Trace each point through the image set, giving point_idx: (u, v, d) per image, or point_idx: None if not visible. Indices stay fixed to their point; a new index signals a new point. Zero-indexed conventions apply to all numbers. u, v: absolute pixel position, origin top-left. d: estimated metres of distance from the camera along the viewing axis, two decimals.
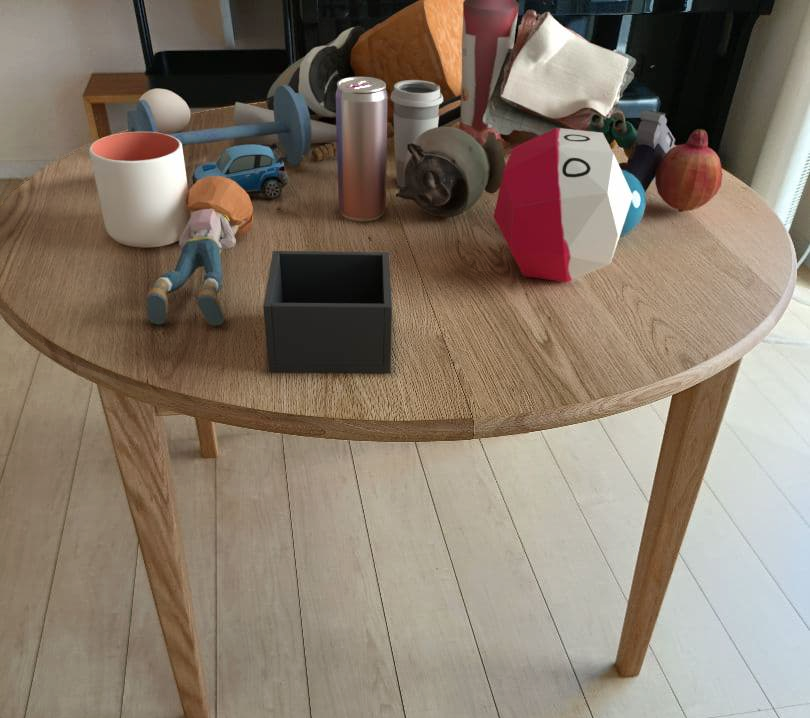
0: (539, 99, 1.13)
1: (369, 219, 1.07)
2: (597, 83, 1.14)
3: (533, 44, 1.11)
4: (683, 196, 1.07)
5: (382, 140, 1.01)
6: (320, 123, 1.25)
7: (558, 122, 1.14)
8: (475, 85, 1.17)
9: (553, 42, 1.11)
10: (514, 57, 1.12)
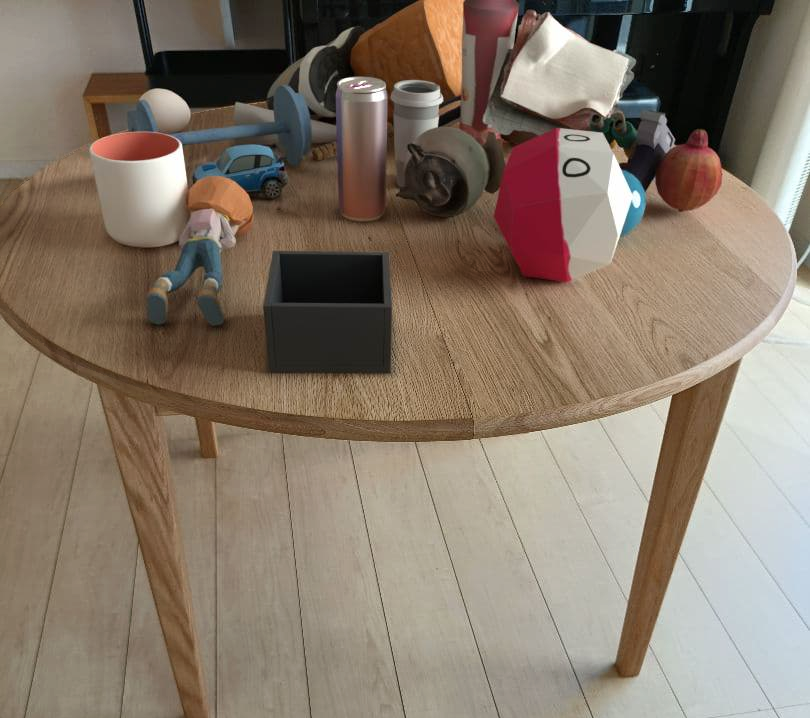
0: (539, 99, 1.13)
1: (369, 219, 1.07)
2: (597, 83, 1.14)
3: (533, 44, 1.11)
4: (683, 196, 1.07)
5: (382, 140, 1.01)
6: (320, 123, 1.25)
7: (558, 122, 1.14)
8: (475, 85, 1.17)
9: (553, 43, 1.11)
10: (514, 57, 1.12)
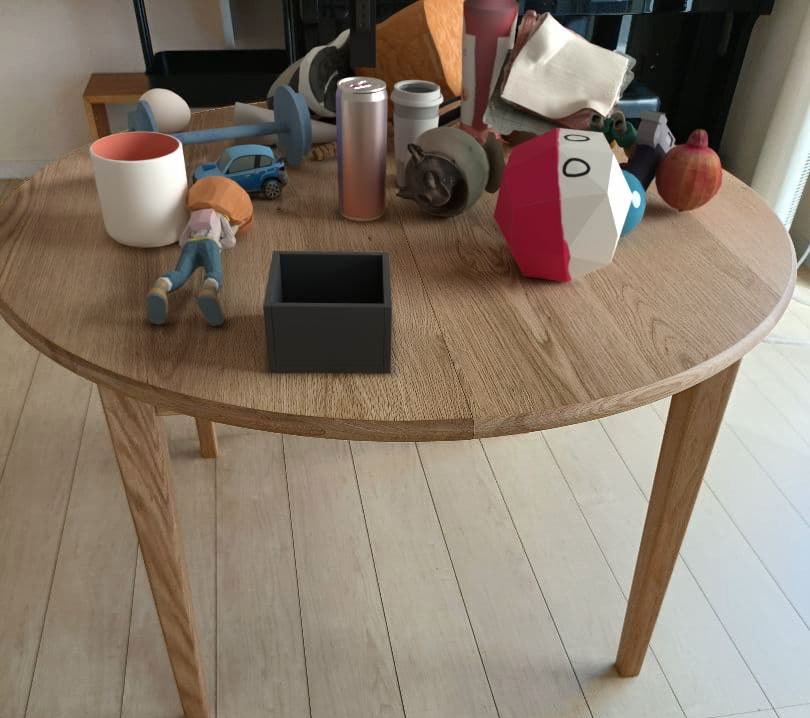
0: (539, 99, 1.13)
1: (369, 219, 1.07)
2: (596, 83, 1.14)
3: (533, 44, 1.11)
4: (683, 196, 1.07)
5: (382, 140, 1.01)
6: (320, 123, 1.25)
7: (558, 122, 1.14)
8: (475, 85, 1.17)
9: (553, 43, 1.11)
10: (514, 57, 1.12)
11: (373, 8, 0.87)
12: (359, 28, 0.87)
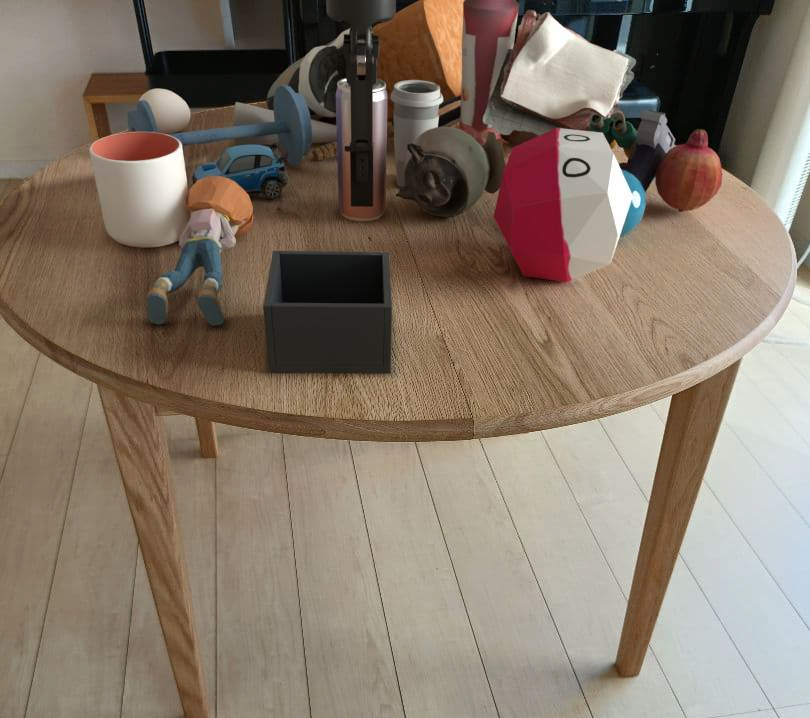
0: (539, 99, 1.13)
1: (369, 219, 1.06)
2: (596, 83, 1.14)
3: (533, 44, 1.11)
4: (683, 196, 1.07)
5: (382, 140, 1.01)
6: (320, 123, 1.25)
7: (558, 122, 1.14)
8: (475, 85, 1.17)
9: (553, 43, 1.11)
10: (514, 57, 1.12)
11: (371, 160, 1.01)
12: (358, 177, 1.01)
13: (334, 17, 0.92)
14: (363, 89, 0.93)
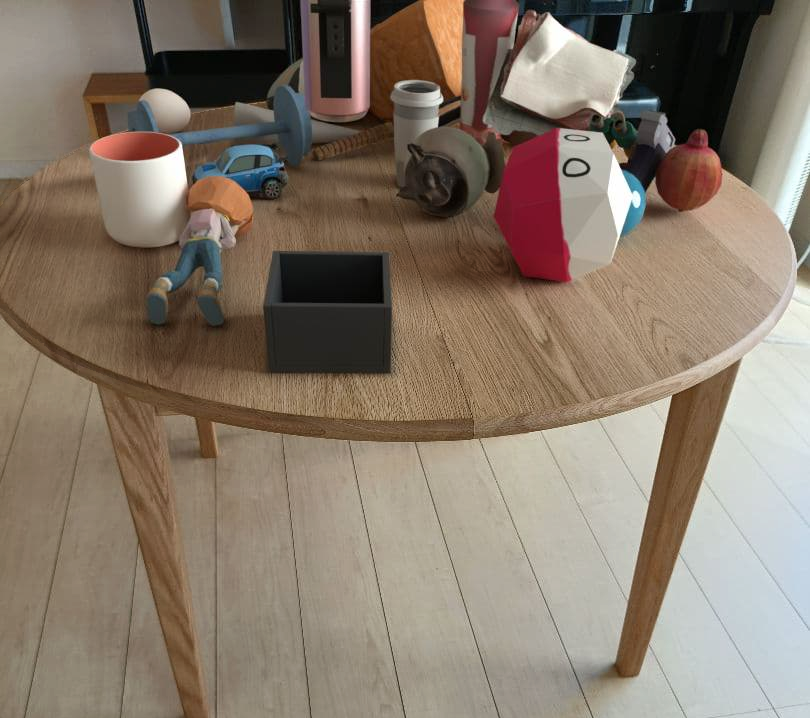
0: (539, 99, 1.13)
1: (347, 118, 0.78)
2: (596, 83, 1.14)
3: (533, 44, 1.11)
4: (683, 196, 1.07)
5: (364, 1, 0.73)
6: (320, 123, 1.25)
7: (558, 122, 1.14)
8: (475, 85, 1.17)
9: (553, 43, 1.11)
10: (514, 57, 1.12)
11: (348, 28, 0.72)
12: (331, 52, 0.72)
13: None
14: None
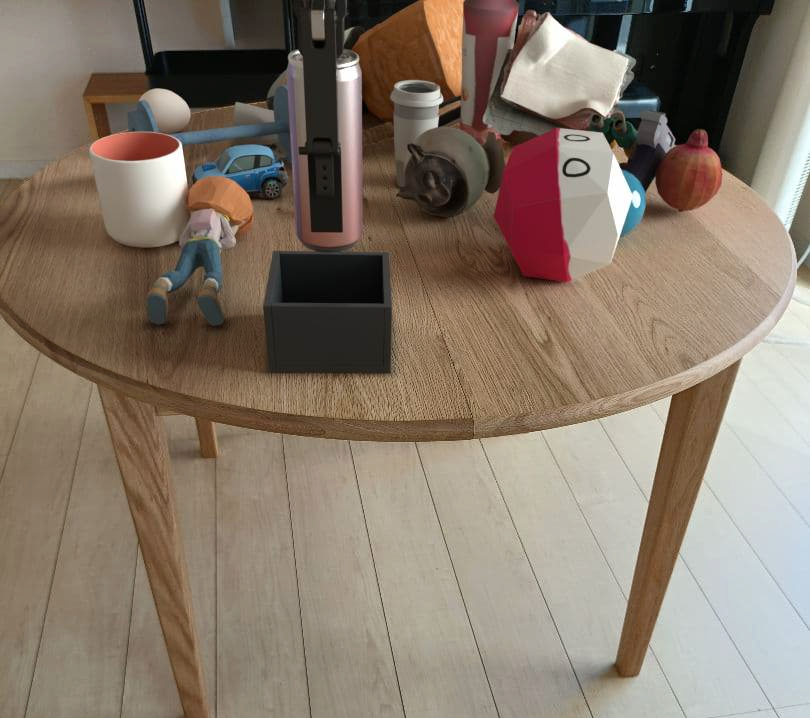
0: (539, 99, 1.13)
1: (339, 249, 0.76)
2: (596, 83, 1.14)
3: (533, 44, 1.11)
4: (683, 196, 1.07)
5: (355, 138, 0.70)
6: None
7: (558, 122, 1.14)
8: (475, 85, 1.17)
9: (553, 43, 1.11)
10: (514, 57, 1.12)
11: (338, 167, 0.70)
12: (320, 191, 0.70)
13: None
14: (322, 62, 0.62)
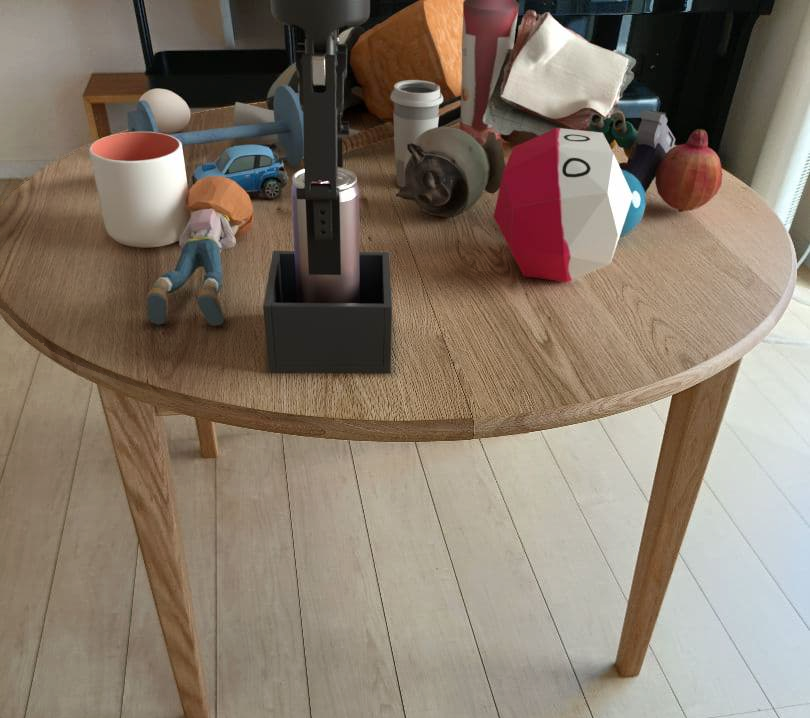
0: (539, 99, 1.13)
1: None
2: (596, 83, 1.14)
3: (533, 44, 1.11)
4: (683, 196, 1.07)
5: (352, 248, 0.77)
6: None
7: (558, 122, 1.14)
8: (475, 85, 1.17)
9: (553, 43, 1.11)
10: (514, 57, 1.12)
11: (336, 211, 0.69)
12: (318, 235, 0.69)
13: (281, 19, 0.64)
14: (322, 106, 0.63)
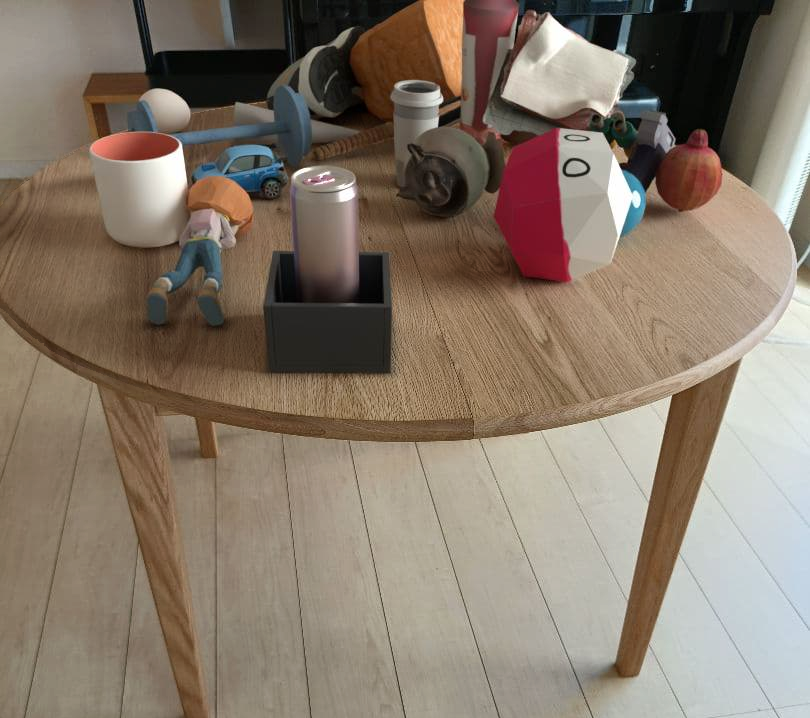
0: (539, 99, 1.13)
1: None
2: (596, 83, 1.14)
3: (533, 44, 1.11)
4: (683, 196, 1.07)
5: (352, 248, 0.77)
6: (320, 123, 1.25)
7: (558, 122, 1.14)
8: (475, 85, 1.17)
9: (553, 43, 1.11)
10: (514, 57, 1.12)
11: None
12: None
13: None
14: None
